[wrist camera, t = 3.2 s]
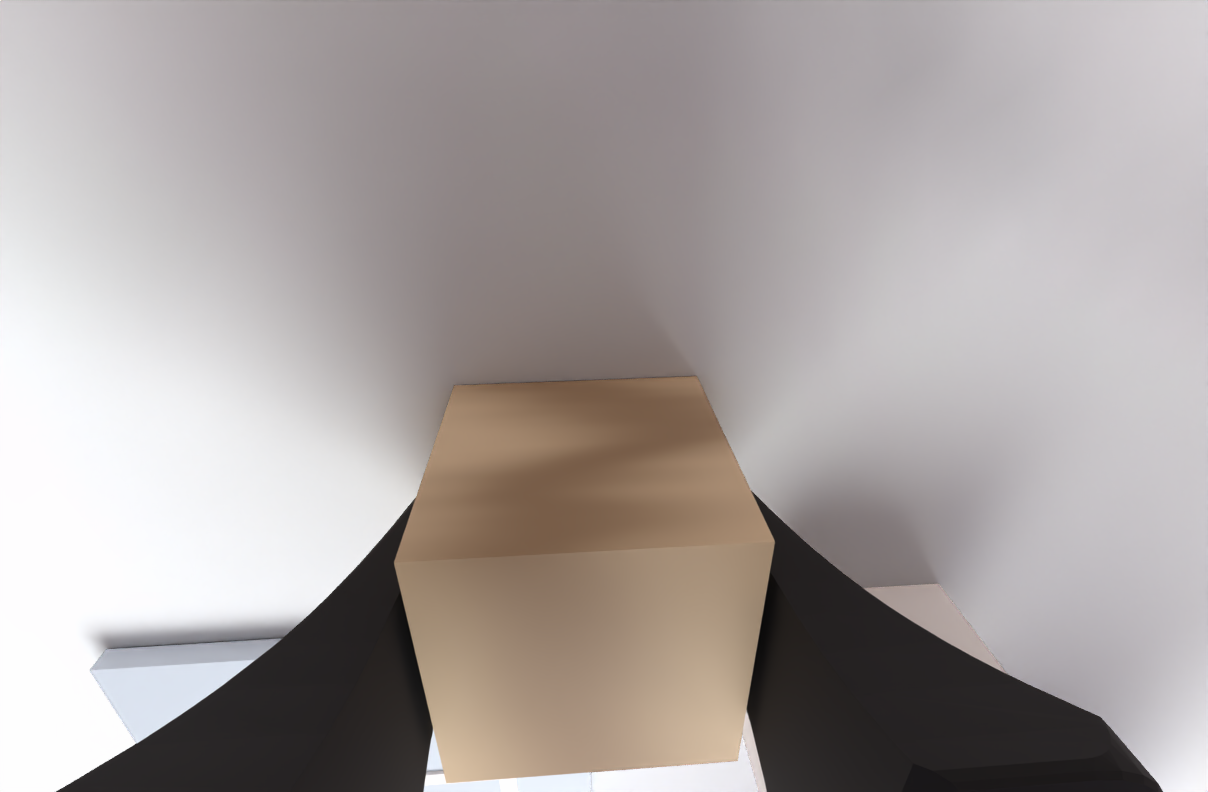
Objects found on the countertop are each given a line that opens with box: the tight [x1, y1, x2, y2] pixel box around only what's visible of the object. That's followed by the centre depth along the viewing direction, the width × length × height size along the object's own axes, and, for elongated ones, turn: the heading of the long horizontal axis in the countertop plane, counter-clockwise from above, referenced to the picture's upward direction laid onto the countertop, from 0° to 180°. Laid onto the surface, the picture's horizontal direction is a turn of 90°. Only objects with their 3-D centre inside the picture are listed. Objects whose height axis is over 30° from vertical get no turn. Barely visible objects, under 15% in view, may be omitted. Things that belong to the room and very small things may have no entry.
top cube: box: [742, 583, 1007, 792], centre depth 15 cm, size 5×5×5 cm
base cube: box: [394, 376, 775, 783], centre depth 11 cm, size 5×5×5 cm
